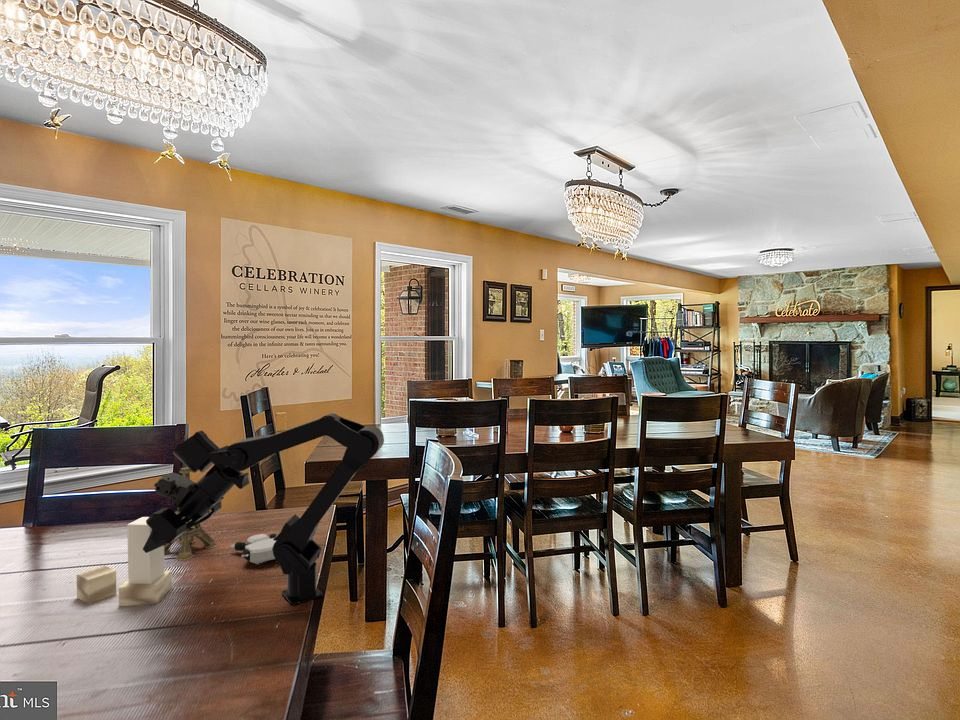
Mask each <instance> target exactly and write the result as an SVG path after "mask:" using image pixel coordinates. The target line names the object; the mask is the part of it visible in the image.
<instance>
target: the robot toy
mask: <svg viewBox="0 0 960 720" xmlns="http://www.w3.org/2000/svg"><path fill="white" fill-rule="evenodd" d="M277 535H278V534H276V533H271V534H269V536H268V535H267V534H266V533H260V534H255V535H251V536H249V537H248V538H247V540H246V542H245V541H244V542H243V541H237V542H236V543H234V544H231V545H230V548H231V549H234V551H239V552H242V554H241V555H240V556H241V558H243V559H245V560H246V561H248V562H250V563H253V564H254V563H255V565H260V564H259V563H262V564H264V563H265V562H267V561H272V560H276V559H275V557H274V555H273V551H272V548H273V545H274V543H275V542H276V541H274V540H273V539H274V538H275V537H276V536H277ZM263 562H264V563H263Z"/></svg>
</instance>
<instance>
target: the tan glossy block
mask: <svg viewBox="0 0 960 720" xmlns="http://www.w3.org/2000/svg"><path fill="white" fill-rule="evenodd" d="M164 571H165V574H164V575H162V576H161V577H160V578H158V579H157V580H155V581H154V582H153V583H151V584H128V579H126V581H124V582H123V583H122V584H121V585H120V586H119V587H118V607H128V606H142V605H155V604H156V605H157V604H159V603H160V602H161V600H162V599H163V598H164V597H165V596H166V595H167V593H169V592H170V590H171V589H172V588H173V582H172V581H173V579H172V576H173V575H172V574H173V573H172V572H173V571H172V570H164Z"/></svg>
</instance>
